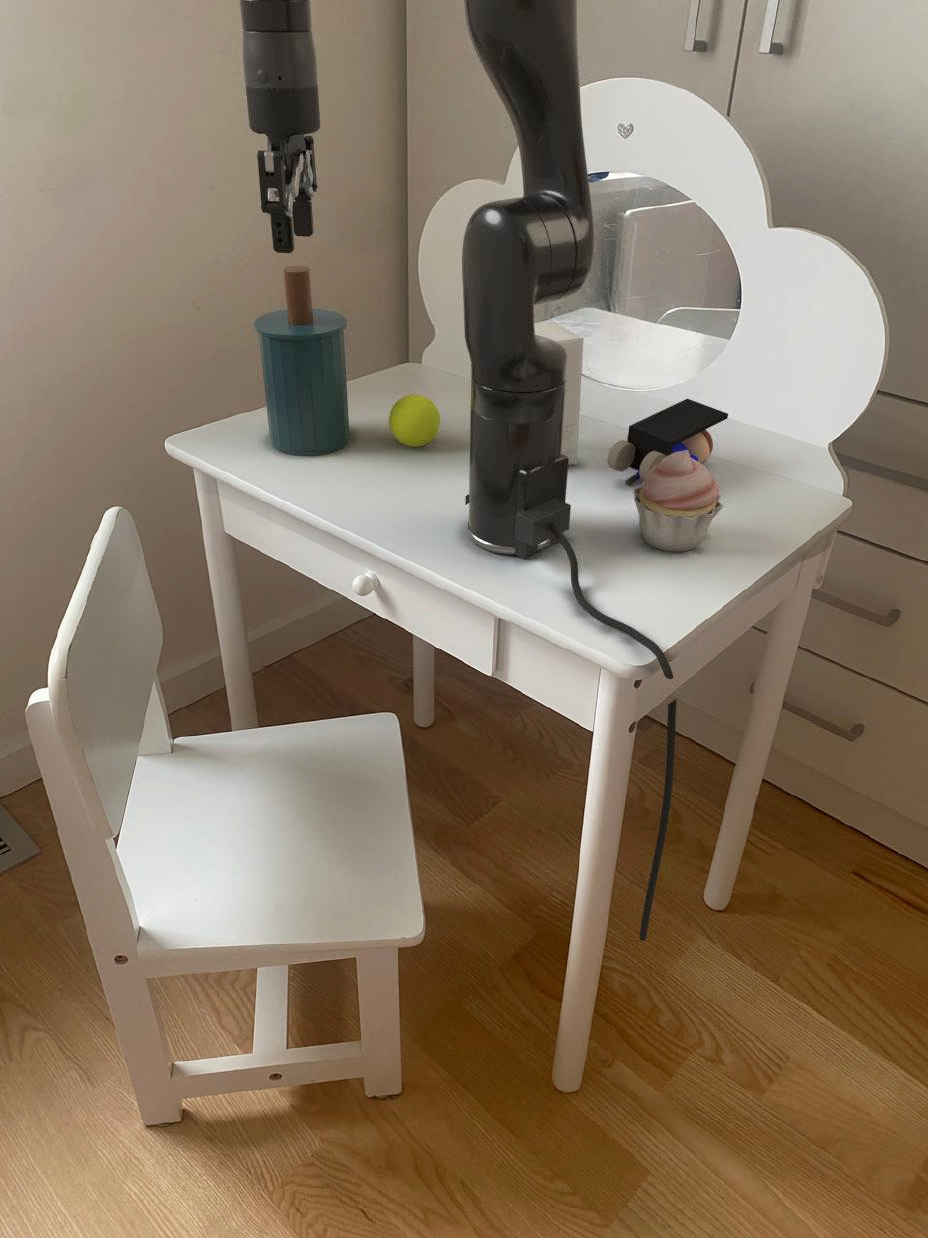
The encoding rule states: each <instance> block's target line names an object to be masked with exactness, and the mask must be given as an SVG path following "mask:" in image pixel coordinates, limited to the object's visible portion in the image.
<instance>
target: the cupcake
mask: <svg viewBox="0 0 928 1238" xmlns="http://www.w3.org/2000/svg"><path fill="white" fill-rule="evenodd" d="M632 491H633V494H634V497H633V500H634V504H635V507H636V510H637V512H638V520H639V530H640V534H641V536H642V539H643V541H644V542H645V543H646V544H648V545H650V546H651V547H654V548H656V549H658V550H662V551H667V552H675V553H676V552H687V551H691V550H693V549H696V548H698V547H699V545H700V544H701V543H702V542H703V540H704V537H705V535H706V533H707V531H708V529H709V527H710V525H711V524H712V521H713V519H714V518H716V516H717V515H718V514H719V512H720V511H721V510H723V508H724V507H725V506H724V504H723V503H722V502H720V501H721V498H722V495H721V494H720V492H719V484H718V482H717V481H716V480H715V478H714V477H713V476H711V474H710V471H709V469H708V468H706V466H705V465H704V464H703V463H699V462H697V461H696V460H694V459H692V458H690V455H689V452H688V450H685V451H680V452H675V453H673V454H671V455H669V456H667V457H665V458H664V459H662V460H661V462H660V464H659V465H657V466H655V467H653V468H652V469H650V471H649V472H648V473H647V474H646V476H645V479H643V482H642V483H641V486H640V487H635V488H634V489H633V490H632Z"/></svg>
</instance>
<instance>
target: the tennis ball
mask: <svg viewBox="0 0 928 1238" xmlns="http://www.w3.org/2000/svg"><path fill="white" fill-rule="evenodd" d="M388 425H389V430H390V432H391V433H392V435H393V437H394V438H395V440H397V441H398V442H399V443H400V444H402V445H405V446H407V447H412V448H413V447H414V448H416V447H422V446H425V445H427V444H429V443H430V442H432V441H433V440H434V439H435V437H436V436H437V434H438V432H439V430H440V426H441V416H440V412H439V410H438V407H437V406H436V405H435V403H434V402H433V401H432V400H431V399H430V398H428V397H426V396H424V395H421V394H408V395H404V396H403V397H401V398H399V399H398V400H396V401H395V403H394V404H393V405H392V407H391V409H390V412H389V415H388Z"/></svg>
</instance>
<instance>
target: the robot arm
mask: <svg viewBox="0 0 928 1238" xmlns="http://www.w3.org/2000/svg"><path fill="white" fill-rule="evenodd" d="M463 6H464V16H465V23H466V27H467V32H468V34H469V38H470V41H471V43H472V46H473V49H474V51H475V53H476V55H477V57H478V59H479V62H480V64H481V65H482V67H483V69H484V72H485V73H486V75H487V77H488V79H489V81H490V82H491V84H492V86H493V88H494V90H495V91H496V93H497V95H498V97H499V99H500V100H501V102H502V104H503V106H504V108H505V110H506V112H507V114H508V117H509V119H510V121H511V124H512V126H513V129H514V133H515V136H516V140H517V144H518V150H519V151H518V152H519V157H520V164H521V173H522V174H521V175H522V176H521V177H522V190H523V191H522V192H523V193H522V195H523V196H520V197H514V198H506V199H499V200H494V201H489V202H487V203H483V204H482V205H480V206H479V207H477V208H476V209H475V210H474V212H473V213H472V214H471V215H470V217H469V219H468V222H467V225H466V227H465V230H464V235H463V241H462V246H461V247H462V248H461V249H462V251H461V279H462V280H461V281H462V299H463V300H462V303H463V324H464V325H463V326H464V327H463V329H464V340H465V345H466V349H467V351H468V354H469V355H468V356H469V359H470V375H471V376H470V413H469V414H470V417H469V419H470V421H469V425H470V426H469V475H468V478H469V479H468V480H469V482H468V483H469V485H468V494H466V495H465V496H464V498H465V499H464V500H465V503H464V506H467V505H468V522H467V536H468V538H469V539H470V540H471V542H472V543H474V545H476V546H477V547H479V548H481V549H483V550H486V551H489V552H492V553H497V554H503V555H513V556H517V557H518V558H521V559H526V558H528V557H529V556H530V557H531V556H532V555H534V554H536V553H538V552H540V551H543V550H545V549H546V548H548V547H551V546H552V545H555V544H557V543H558V542H559V544H560V545H561V546H562V548H563V550H564V551H565V553H566V555H567V558H568V561H569V565H570V566H569V567H570V584H571V588H572V591H573V594H574V597H575V599H576V601H577V602H578V604H579V606H580V607H581V608H582V609H583V610H584V611H585V612H587V613H588V614H589V615H590V616H591V617H592V618H594V619H595V620H597V621H598V622H600V623H602V624H604V625H606V626H608V627H611V628H613V629H615V630H618V631H620V632H622V633H624V634H625V635H628V636H629V637H631V638H632V639H634V641H637V642H638V643H640V644H641V645H643V646H644V647H646V648H647V649H649V651H650V652H652V654H653V655H654V656H655V657H656V659H657V661H658V663H659V665H660V668H661V670H662V672H663V676H664V677H665V678H666V679H667V680H673V679H674V674H673V670H672V667H671V664H670V663H669V661H668V659H667V656H666V655H665V653H664V652H663V650H662V649H661V647H660V646H659V645H658V644H657V643H656V642H655V641H653V640H652V639H650V638H649V637H647V636H646V635H644V634H642V633H641V632H639V631H638V630H637V629H635V628H633V627H632V626H630V625H628V624H627V623H624V622H621V621H619V620H617V619H615V618H613V617H610V616H608V615H606V614H604V613H602V612H600V611H599V610H598V609H596V608H595V607H594V606H593V605H592V604H591V603H589V601H588V600H587V599H586V598H585V596H584V594H583V592H582V588H581V586H580V581H579V580H580V579H579V563H578V558H577V556H576V553H575V550H574V548H573V546H572V545H571V544H570V542H569V541H568V539H567V538H566V536H565V535H564V533H565V532H566V531H569V530H570V521H571V509H572V505H571V504H570V503H567V502H566V500H567V488H568V487H567V485H568V475H569V465H568V462H569V459H568V457H567V456H566V455H563V454H561V448H562V434H563V420H564V407H565V394H566V380H567V379H566V378H567V367H568V356H567V352H566V350H565V348H564V347H563V346H562V345H561V344H559V343H558V342H556V341H554V340H552V339H549V338H546V337H542V336H539V335H535V328H534V323H535V306H539V305H543V304H547V303H550V302H555V301H561V300H564V299H568V298H570V297H572V296H574V295H576V294H577V293H579V292H580V291H581V289H583V288H584V286H585V284H586V283H587V281H588V279H589V278H590V275H591V272H592V268H593V263H594V257H595V225H594V214H593V205H592V196H591V189H590V182H589V173H588V166H587V165H588V164H587V157H586V149H585V141H584V130H583V129H584V128H583V120H582V104H581V101H582V100H581V83H580V69H579V67H580V66H579V65H580V64H579V48H578V0H463ZM239 8H240V9H239V10H240V17H241V28H242V65H243V77H244V84H245V95H246V104H247V105H246V106H247V116H248V125H249V129H250V130H251V132H253V133H256V134H258V135H265V136H266V137H267V150H260V149H259V150H257V154H256V159H257V169H258V181H259V193H260V195H259V196H260V209H261V212H262V214H267V216H268V217H269V218H270V228H271V239H272V248H273V251H274V252H275V253H277V254H291V253H293V252H294V251H295V236H296V237H304V238H305V237H309V238H310V237H311V236H312V235H314V233H315V232H314V231H315V229H314V216H313V204H312V201H314V198H315V193H317V191H318V183H317V181H318V180H317V169H316V156H315V155H316V154H315V140H314V137H313V135H311V134H314V133H317V132H319V131H320V129H321V114H320V113H321V112H320V97H319V83H318V68H317V65H318V64H317V55H316V48H315V42H314V38H313V37H314V36H313V31H312V30H313V26H312V25H313V24H312V23H313V22H312V7H311V0H239ZM277 198H278V200H276V199H277ZM294 235H295V236H294ZM676 720H677V698H675V699H674V700H673V701H671V702H670V703H668V704H667V721H666V722H667V725H666V730H667V731H666V756H665V759H666V760H665V777H664V788H663V797H662V806H661V813H660V819H659V826H658V833H657V836H656V837H657V838H656V844H655V849H654V854H653V859H652V864H651V869H650V874H649V879H648V883H647V889H646V894H645V900H644V905H643V911H642V915H641V916H642V917H641V922H640V930H639V936H638V937H639V938H638V939H639V940H640V941H642V942H645V941H647V937H648V931H649V930H648V929H649V923H650V917H651V912H652V907H653V901H654V896H655V892H656V886H657V882H658V876H659V871H660V866H661V862H662V859H663V857H662V856H663V853H664V848H665V842H666V837H667V831H668V823H669V818H670V812H671V805H672V804H671V802H672V796H673V785H674V774H675V756H676V728H677V727H676V725H677V724H676V723H677V721H676Z"/></svg>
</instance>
